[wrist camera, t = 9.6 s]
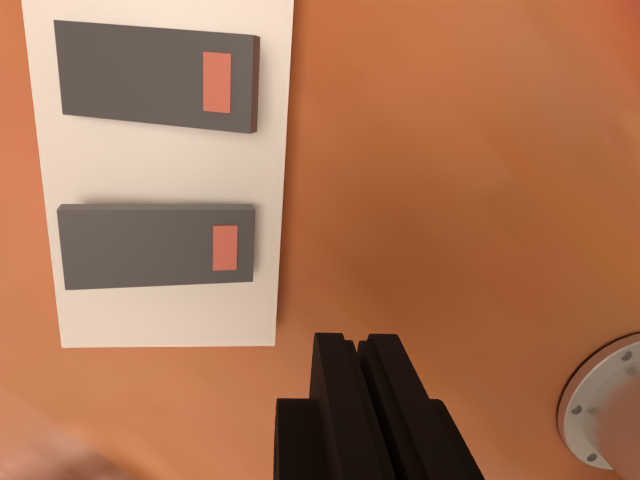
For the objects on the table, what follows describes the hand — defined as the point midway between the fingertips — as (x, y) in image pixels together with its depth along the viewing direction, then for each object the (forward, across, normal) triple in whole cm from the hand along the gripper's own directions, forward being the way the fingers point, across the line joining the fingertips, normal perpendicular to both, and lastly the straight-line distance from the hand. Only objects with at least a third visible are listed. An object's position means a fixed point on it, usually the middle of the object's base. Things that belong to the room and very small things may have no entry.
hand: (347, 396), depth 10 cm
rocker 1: (+15, +7, -6) cm, 17 cm away
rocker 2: (+15, +7, +2) cm, 17 cm away
